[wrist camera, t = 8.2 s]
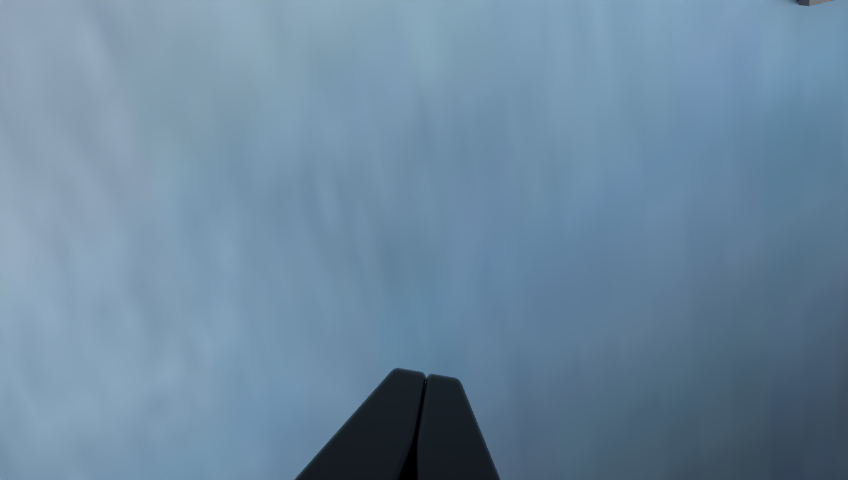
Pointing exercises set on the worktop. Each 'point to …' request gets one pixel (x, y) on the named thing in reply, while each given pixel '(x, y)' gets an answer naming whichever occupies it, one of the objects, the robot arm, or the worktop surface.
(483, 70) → the worktop surface
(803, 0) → the mat
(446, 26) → the worktop surface
